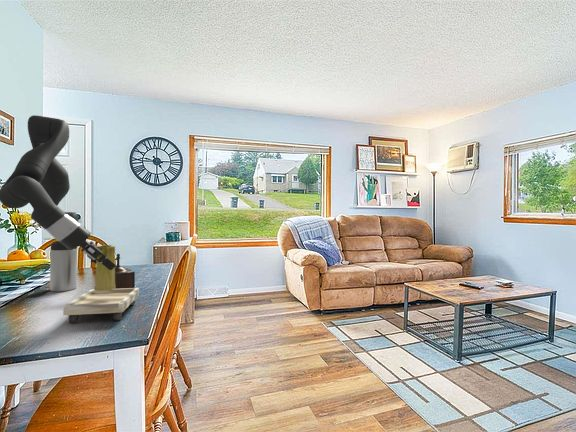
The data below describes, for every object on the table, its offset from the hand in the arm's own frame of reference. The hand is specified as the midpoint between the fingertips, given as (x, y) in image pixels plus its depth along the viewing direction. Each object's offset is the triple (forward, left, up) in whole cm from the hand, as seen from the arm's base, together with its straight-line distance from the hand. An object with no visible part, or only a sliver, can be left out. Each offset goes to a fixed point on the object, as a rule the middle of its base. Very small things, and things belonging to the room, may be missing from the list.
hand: (111, 266), depth 102 cm
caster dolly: (+1, -2, -15) cm, 15 cm away
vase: (+1, -2, -7) cm, 8 cm away
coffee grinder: (-24, -8, -16) cm, 30 cm away
